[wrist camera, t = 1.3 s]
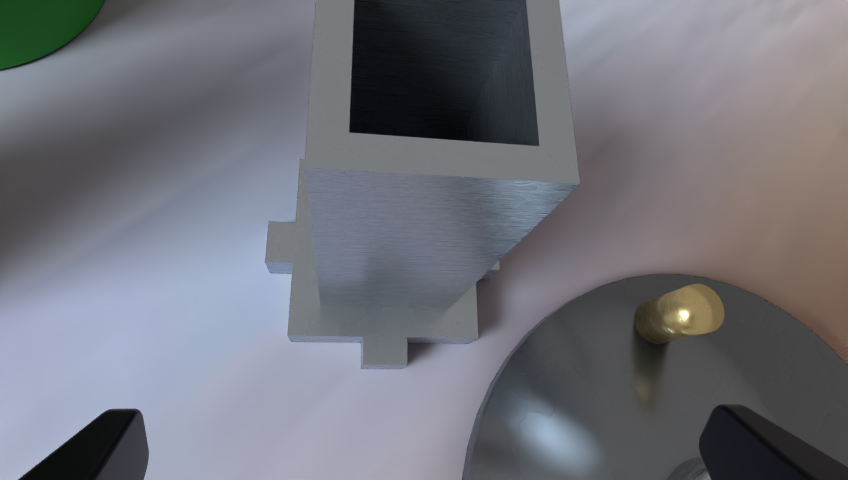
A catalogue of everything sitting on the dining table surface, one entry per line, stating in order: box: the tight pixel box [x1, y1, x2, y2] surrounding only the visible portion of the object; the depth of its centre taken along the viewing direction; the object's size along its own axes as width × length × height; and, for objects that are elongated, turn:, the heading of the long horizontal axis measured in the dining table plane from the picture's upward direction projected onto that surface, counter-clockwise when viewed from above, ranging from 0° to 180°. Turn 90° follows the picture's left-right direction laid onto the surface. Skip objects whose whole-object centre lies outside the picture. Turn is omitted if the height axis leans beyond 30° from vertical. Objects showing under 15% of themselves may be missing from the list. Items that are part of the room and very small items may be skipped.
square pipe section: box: [265, 0, 580, 369], centre depth 16 cm, size 9×9×13 cm
